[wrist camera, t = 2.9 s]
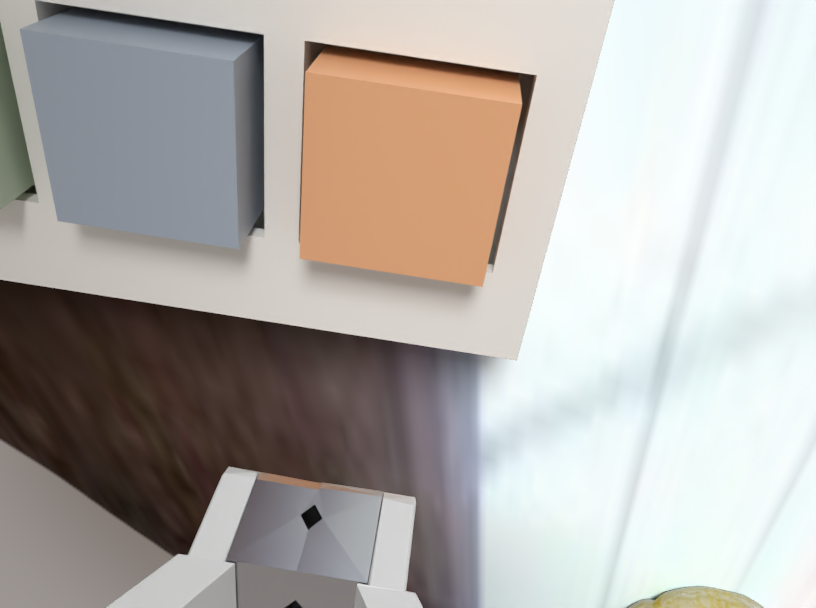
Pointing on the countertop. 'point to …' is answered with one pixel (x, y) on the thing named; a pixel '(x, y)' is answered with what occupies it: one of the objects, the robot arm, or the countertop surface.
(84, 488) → the countertop surface
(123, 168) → the key slate
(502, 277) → the keypad
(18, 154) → the key sage
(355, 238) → the key terracotta
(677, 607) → the bread roll
